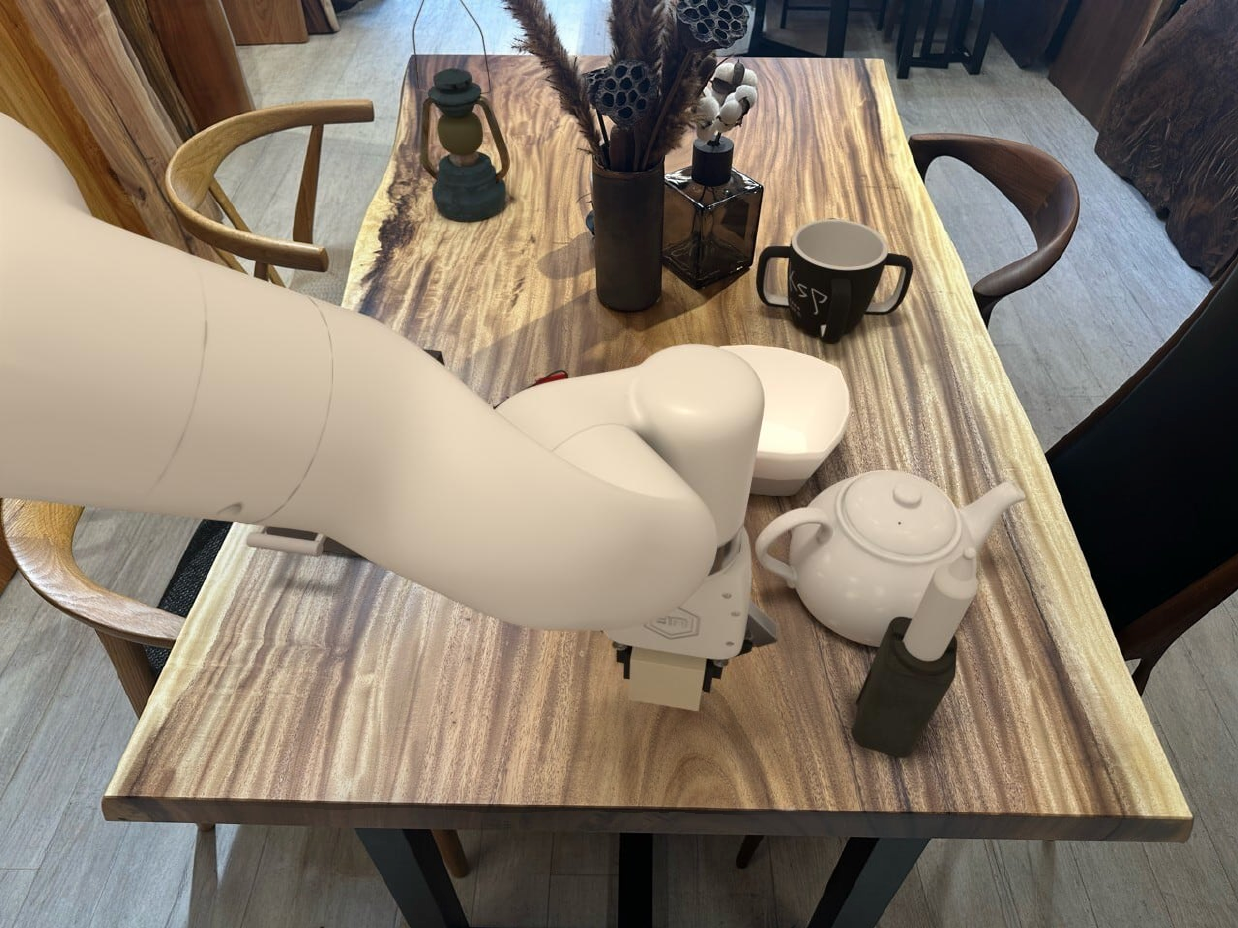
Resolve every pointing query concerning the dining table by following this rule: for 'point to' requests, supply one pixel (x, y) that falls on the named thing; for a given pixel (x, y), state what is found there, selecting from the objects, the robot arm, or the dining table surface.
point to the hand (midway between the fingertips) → (668, 668)
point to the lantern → (462, 146)
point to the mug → (833, 277)
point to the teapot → (877, 547)
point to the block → (666, 678)
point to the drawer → (295, 541)
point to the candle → (915, 663)
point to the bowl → (795, 416)
